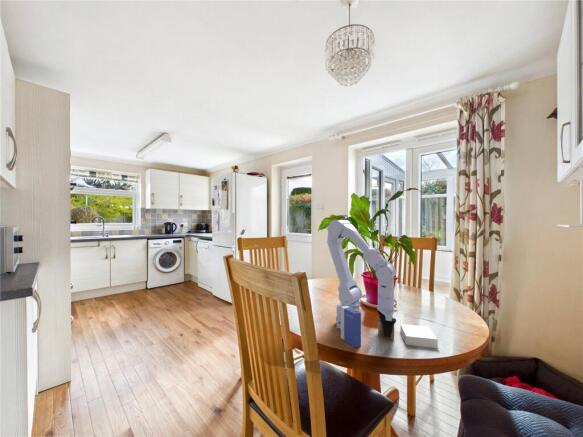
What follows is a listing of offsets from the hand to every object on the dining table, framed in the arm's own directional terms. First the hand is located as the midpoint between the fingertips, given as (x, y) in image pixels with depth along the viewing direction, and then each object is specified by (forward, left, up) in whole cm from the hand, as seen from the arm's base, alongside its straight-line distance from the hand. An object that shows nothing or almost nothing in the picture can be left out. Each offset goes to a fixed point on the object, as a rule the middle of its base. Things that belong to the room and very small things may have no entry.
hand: (385, 332), depth 92 cm
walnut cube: (0, 0, -2) cm, 2 cm away
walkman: (-13, -8, -2) cm, 15 cm away
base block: (+11, 0, -1) cm, 11 cm away
